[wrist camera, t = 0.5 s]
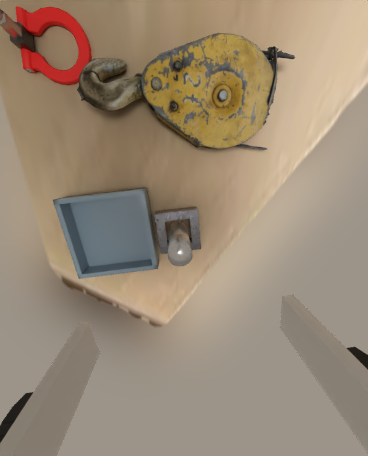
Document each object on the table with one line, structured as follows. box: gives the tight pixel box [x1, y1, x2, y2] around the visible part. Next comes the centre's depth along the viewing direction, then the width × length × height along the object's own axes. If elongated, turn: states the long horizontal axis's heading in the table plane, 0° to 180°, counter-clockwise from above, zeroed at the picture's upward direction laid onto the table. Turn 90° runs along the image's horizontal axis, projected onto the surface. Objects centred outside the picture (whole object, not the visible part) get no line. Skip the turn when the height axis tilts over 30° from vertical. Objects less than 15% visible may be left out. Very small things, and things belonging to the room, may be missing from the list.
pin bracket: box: [154, 207, 201, 254], centre depth 33 cm, size 8×8×2 cm
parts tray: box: [53, 188, 159, 279], centre depth 32 cm, size 15×15×4 cm
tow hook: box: [0, 7, 91, 85], centre depth 20 cm, size 8×13×9 cm
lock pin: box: [168, 220, 192, 266], centre depth 29 cm, size 3×3×12 cm
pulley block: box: [77, 33, 295, 150], centre depth 26 cm, size 14×6×30 cm
